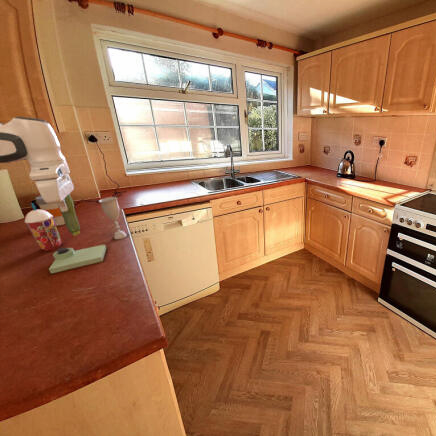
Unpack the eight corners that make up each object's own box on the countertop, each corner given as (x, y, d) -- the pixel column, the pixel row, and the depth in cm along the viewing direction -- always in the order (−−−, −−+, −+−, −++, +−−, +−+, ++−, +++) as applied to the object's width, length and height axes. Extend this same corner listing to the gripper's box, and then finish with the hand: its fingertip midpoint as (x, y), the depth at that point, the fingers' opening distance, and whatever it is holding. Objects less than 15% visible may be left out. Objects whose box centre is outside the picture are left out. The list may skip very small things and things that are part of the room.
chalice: (110, 236, 113) (98, 199, 106) (127, 231, 117) (116, 196, 110) (112, 241, 108) (99, 203, 101) (130, 236, 112) (118, 199, 105)
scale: (49, 274, 86) (45, 265, 84) (59, 258, 96) (55, 250, 94) (102, 261, 93) (99, 253, 91) (106, 247, 103) (103, 240, 101)
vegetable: (68, 235, 89) (45, 181, 82) (82, 230, 93) (62, 179, 85) (72, 238, 87) (49, 183, 79) (87, 233, 90) (66, 180, 83)
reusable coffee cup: (78, 216, 140) (68, 190, 134) (76, 222, 130) (65, 195, 125) (49, 221, 133) (37, 195, 127) (45, 229, 124) (32, 201, 118)
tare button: (57, 255, 92) (55, 251, 91) (59, 252, 94) (58, 248, 93) (67, 253, 93) (66, 249, 92) (69, 249, 95) (68, 246, 95)
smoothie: (69, 244, 106) (50, 201, 99) (45, 254, 99) (22, 208, 92) (59, 241, 109) (40, 199, 102) (35, 250, 103) (13, 205, 95)
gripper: (48, 166, 88) (63, 202, 93) (26, 176, 71) (46, 219, 76) (70, 164, 90) (84, 199, 96) (54, 173, 74) (72, 215, 79)
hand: (67, 208), depth 86 cm, fingers closed on vegetable, 4 cm apart
